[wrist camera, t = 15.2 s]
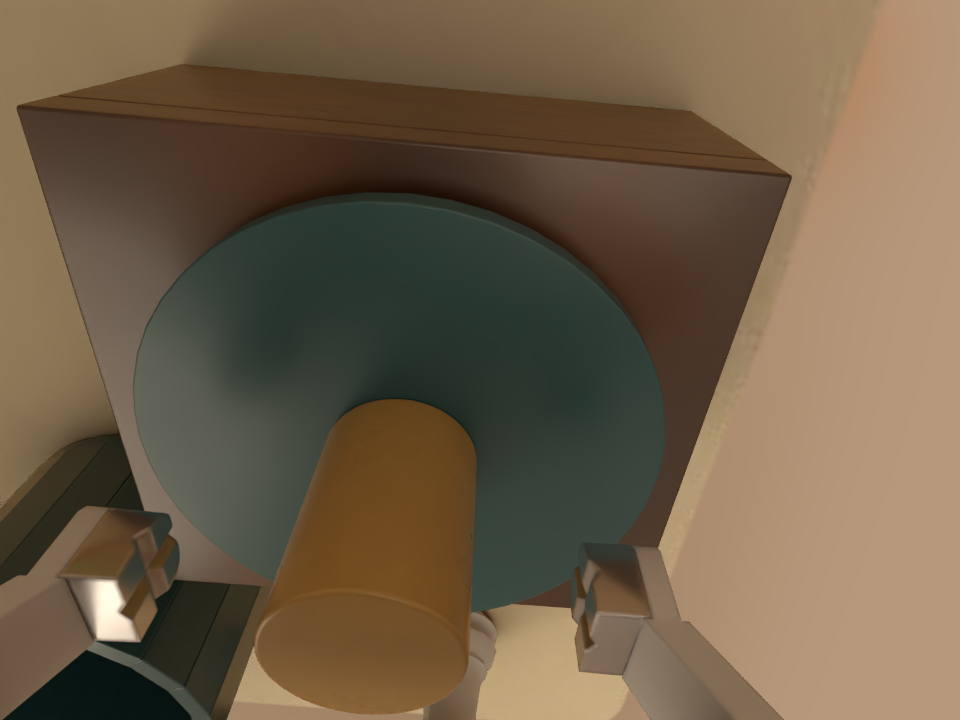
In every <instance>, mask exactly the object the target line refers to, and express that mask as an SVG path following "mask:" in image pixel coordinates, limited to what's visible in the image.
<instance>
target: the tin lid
mask: <svg viewBox="0 0 960 720" xmlns="http://www.w3.org/2000/svg"><path fill="white" fill-rule="evenodd" d="M133 395H134V412H135V417H136V422H137V426H138V431H139V436H140V439H141V442H142V445H143V447H144V450H145V453H146V455H147V458H148V460H149V463H150V465H151V467H152V469H153V470H154V472H155V474H156V476H157V478H158V480H159V481H160V483H161V485H162V487H163V488H164V490H165V491H166V492H167V494H168V495H169V497H170V498H171V499H172V501H173V502H174V503H175V505H176V506H177V507H178V509H179V510H180V511H181V512H182V513H183V514H184V515H185V517H186V518H187V519H188V520H189V521H190V522H191V523H192V524H193V525H194V526H195V527H196V528H197V529H198V530H199V531H200V532H201V533H202V534H203V535H204V536H205V537H207V538H208V539H209V540H210V541H211V542H212V543H214V544H215V545H216V546H217V547H218V548H219V549H221V550H222V551H224V552H225V553H226V554H228V555H229V556H231V557H232V558H234V559H235V560H236V561H238V562H239V563H241V564H242V565H244V566H245V567H247V568H249V569H251V570H252V571H254V572H256V573H258V574H259V575H261V576H263V577H265V578H266V579H268V580H271V581H273V585H272V587H271V590H270V593H269V595H268V598H267V601H266V603H265V606H264V609H263V611H262V614H261V617H260V619H259V622H258V625H257V627H256V630H255V635H254V647H255V654H256V657H257V660H258V662H259V663H260V665H261V667H262V668H263V670H264V671H265V672H266V674H267V675H268V676H269V677H270V678H271V679H272V680H273V681H274V682H276V683H277V684H278V685H279V686H281V687H282V688H283V689H285V690H287V691H288V692H290V693H292V694H293V695H295V696H297V697H299V698H301V699H303V700H306V701H308V702H311V703H313V704H316V705H319V706H322V707H325V708H329V709H334V710H338V711H343V712H349V713H358V714H377V715H378V714H395V713H403V712H408V711H413V710H417V709H420V708H424V707H426V706H429V705H431V704H434V703H436V702H438V701H440V700H442V699H443V698H445V697H446V696H448V695H449V694H451V693H452V692H453V691H454V690H455V689H456V688H457V687H458V685H459V684H460V683H461V682H462V680H463V678H464V676H465V674H466V672H467V669H468V665H469V650H470V625H471V613H472V612H480V611H485V610H489V609H494V608H498V607H503V606H507V605H510V604H513V603H516V602H520V601H523V600H526V599H529V598H532V597H534V596H537V595H539V594H541V593H544V592H546V591H548V590H551V589H553V588H555V587H557V586H559V585H561V584H563V583H564V582H566V581H568V580H570V579H572V575H573V571H574V569H575V568H577V567H578V566H579V561H578V551H579V548H580V545H581V544H582V542H585V543H602V544H617V543H618V542H619V541H620V540H621V539H622V537H623V536H624V535H625V534H626V533H627V531H628V530H629V529H630V528H631V527H632V525H633V524H634V523H635V521H636V520H637V518H638V517H639V515H640V513H641V512H642V510H643V509H644V507H645V505H646V504H647V502H648V500H649V498H650V495H651V493H652V491H653V488H654V486H655V484H656V481H657V479H658V476H659V472H660V468H661V463H662V459H663V455H664V451H665V436H666V416H665V406H664V397H663V392H662V389H661V385H660V382H659V378H658V375H657V371H656V368H655V365H654V362H653V360H652V358H651V355H650V353H649V351H648V349H647V347H646V345H645V342H644V340H643V338H642V336H641V334H640V332H639V330H638V328H637V326H636V324H635V323H634V321H633V320H632V318H631V317H630V315H629V314H628V312H627V311H626V310H625V308H624V307H623V305H622V304H621V302H620V301H619V299H618V298H617V297H616V296H615V295H614V294H613V293H612V292H611V290H610V289H609V288H608V287H607V286H606V285H605V284H604V283H603V282H602V281H601V280H600V279H599V278H598V276H597V275H596V274H595V273H594V272H593V271H591V270H590V269H589V268H588V267H586V266H585V265H584V264H583V263H581V262H580V261H579V260H578V259H576V258H575V257H574V256H573V255H572V254H570V253H569V252H568V251H567V250H565V249H564V248H562V247H561V246H559V245H557V244H556V243H554V242H552V241H551V240H549V239H547V238H546V237H544V236H542V235H541V234H539V233H537V232H536V231H534V230H532V229H531V228H529V227H527V226H524V225H522V224H520V223H517V222H515V221H513V220H510V219H508V218H506V217H503V216H501V215H499V214H497V213H494V212H492V211H488V210H485V209H482V208H478V207H475V206H471V205H468V204H464V203H461V202H457V201H454V200H449V199H443V198H436V197H430V196H423V195H417V194H410V193H372V192H365V193H356V194H347V195H338V196H329V197H322V198H319V199H315V200H311V201H307V202H303V203H299V204H295V205H291V206H287V207H284V208H282V209H279V210H277V211H274V212H272V213H269V214H267V215H265V216H262V217H260V218H257V219H255V220H253V221H250V222H249V223H247V224H245V225H244V226H242V227H240V228H239V229H237V230H235V231H234V232H232V233H230V234H229V235H227V236H225V237H224V238H222V239H221V240H219V241H218V242H217V243H215V244H214V245H213V246H212V247H211V248H210V249H208V250H207V251H206V252H205V253H204V254H203V255H202V256H200V257H199V258H198V259H197V260H196V261H195V262H193V263H192V264H191V265H190V266H189V267H188V268H187V269H186V270H185V271H183V272H182V274H181V275H180V276H179V277H178V278H177V280H176V281H175V282H174V283H173V285H172V286H171V287H170V288H169V289H168V291H167V292H166V293H165V294H164V295H163V297H162V298H161V300H160V302H159V303H158V305H157V307H156V309H155V311H154V312H153V314H152V316H151V318H150V320H149V321H148V323H147V325H146V328H145V331H144V334H143V337H142V340H141V343H140V346H139V349H138V352H137V357H136V365H135V372H134V379H133Z"/></svg>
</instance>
